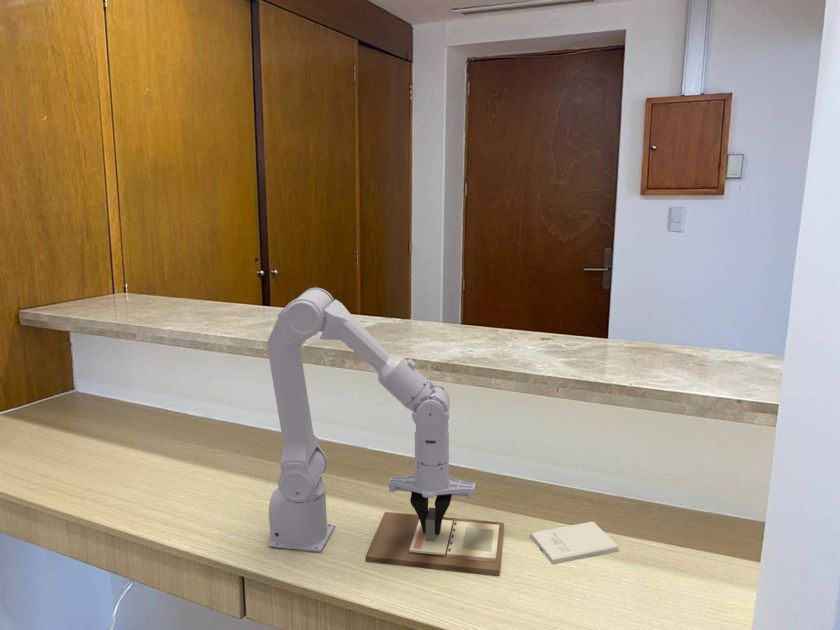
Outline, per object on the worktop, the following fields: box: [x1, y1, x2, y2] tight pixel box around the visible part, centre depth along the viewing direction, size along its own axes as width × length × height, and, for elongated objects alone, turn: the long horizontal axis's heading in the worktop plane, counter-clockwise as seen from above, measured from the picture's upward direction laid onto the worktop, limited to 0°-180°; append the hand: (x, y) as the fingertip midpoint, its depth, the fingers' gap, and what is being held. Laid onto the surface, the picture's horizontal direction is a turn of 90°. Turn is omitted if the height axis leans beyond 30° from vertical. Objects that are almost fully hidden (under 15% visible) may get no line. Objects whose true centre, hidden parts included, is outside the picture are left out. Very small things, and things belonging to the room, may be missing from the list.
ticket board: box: [364, 511, 505, 577], centre depth 110 cm, size 22×14×2 cm, turn 80°
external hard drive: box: [529, 521, 619, 565], centre depth 110 cm, size 2×8×12 cm
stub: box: [409, 506, 453, 556], centre depth 109 cm, size 6×10×4 cm, turn 170°
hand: (431, 530), depth 110 cm, fingers closed on stub
